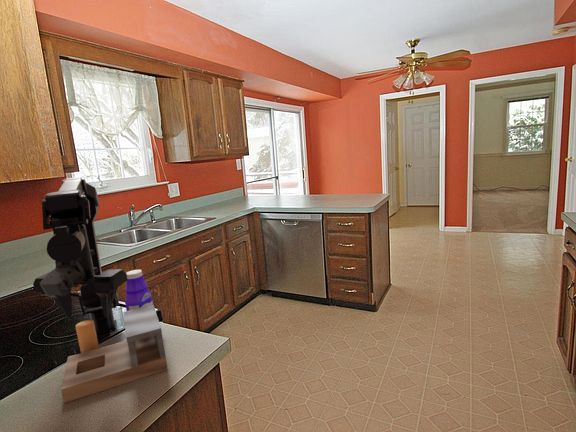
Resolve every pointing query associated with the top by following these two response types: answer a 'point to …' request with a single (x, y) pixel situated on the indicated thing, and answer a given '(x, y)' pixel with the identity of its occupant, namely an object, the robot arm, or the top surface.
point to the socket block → (118, 358)
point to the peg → (87, 336)
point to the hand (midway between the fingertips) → (88, 316)
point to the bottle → (137, 291)
